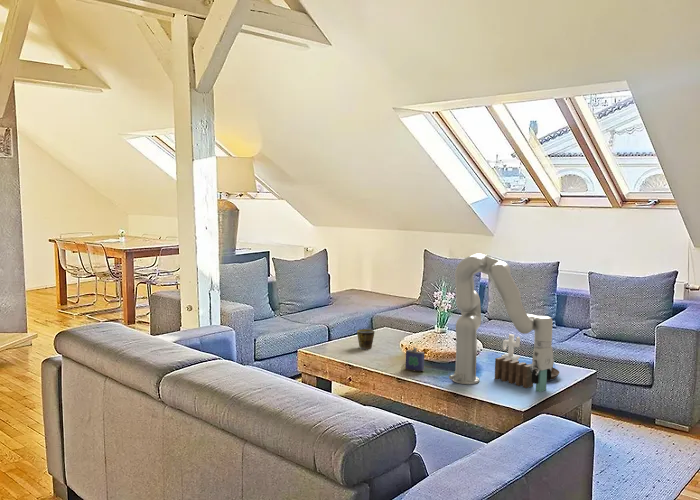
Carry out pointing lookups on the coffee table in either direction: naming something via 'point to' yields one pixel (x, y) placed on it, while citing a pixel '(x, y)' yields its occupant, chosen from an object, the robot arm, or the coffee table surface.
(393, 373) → the coffee table surface
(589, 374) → the coffee table surface
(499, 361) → the domino
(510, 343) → the figurine
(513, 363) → the domino
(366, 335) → the ceramic cup
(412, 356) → the flask
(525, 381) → the domino
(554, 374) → the plant saucer
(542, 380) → the tile
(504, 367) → the domino
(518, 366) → the domino
